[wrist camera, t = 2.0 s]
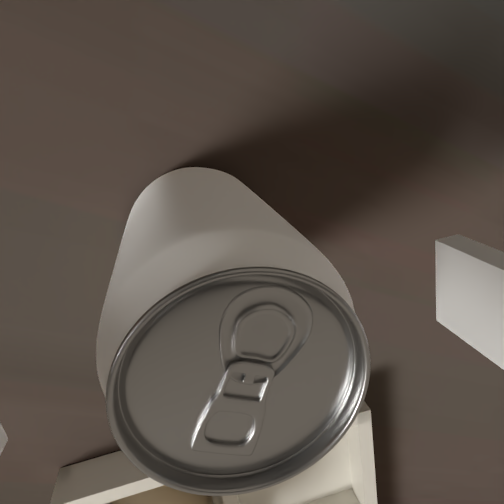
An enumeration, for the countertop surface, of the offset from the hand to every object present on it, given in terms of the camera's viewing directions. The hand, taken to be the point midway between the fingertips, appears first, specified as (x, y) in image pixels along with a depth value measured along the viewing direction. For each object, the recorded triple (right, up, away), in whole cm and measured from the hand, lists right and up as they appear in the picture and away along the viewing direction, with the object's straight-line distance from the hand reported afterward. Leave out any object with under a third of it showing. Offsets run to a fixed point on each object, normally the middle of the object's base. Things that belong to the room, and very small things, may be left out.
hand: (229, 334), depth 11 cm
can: (-2, +3, +8) cm, 9 cm away
